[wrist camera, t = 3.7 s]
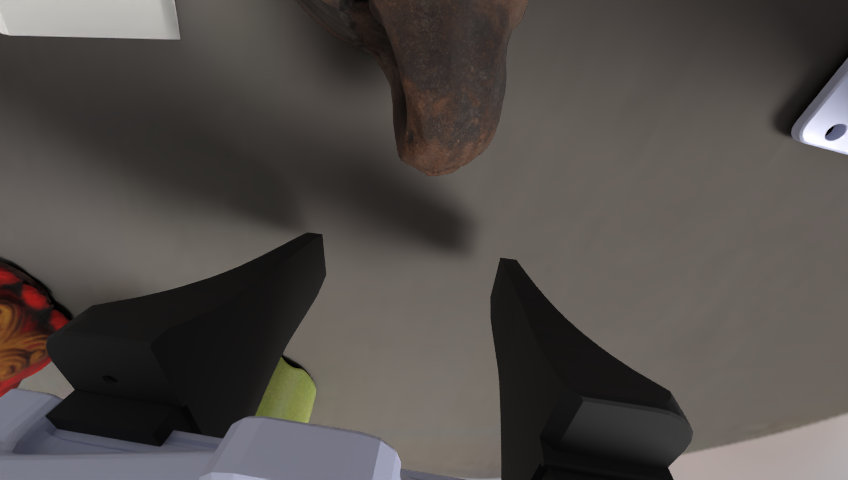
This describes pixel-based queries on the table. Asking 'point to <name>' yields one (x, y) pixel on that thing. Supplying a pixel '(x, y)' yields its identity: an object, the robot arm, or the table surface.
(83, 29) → the white square open box
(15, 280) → the red clay folk toy
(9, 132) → the table surface
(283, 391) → the plant pot
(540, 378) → the robot arm
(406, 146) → the brown hollow curved piece
